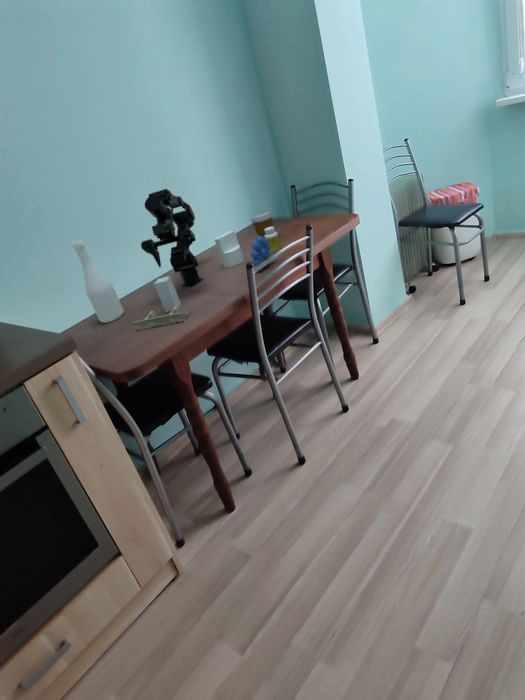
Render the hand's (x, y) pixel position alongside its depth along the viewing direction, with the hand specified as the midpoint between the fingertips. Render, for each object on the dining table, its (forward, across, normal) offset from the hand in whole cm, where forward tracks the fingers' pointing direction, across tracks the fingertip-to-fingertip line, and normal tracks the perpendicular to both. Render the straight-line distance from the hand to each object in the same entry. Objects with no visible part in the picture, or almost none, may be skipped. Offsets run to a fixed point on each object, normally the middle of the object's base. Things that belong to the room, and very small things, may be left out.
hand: (171, 263), depth 171 cm
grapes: (+4, +29, +18) cm, 34 cm away
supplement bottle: (-7, +34, +31) cm, 46 cm away
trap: (+21, -4, -4) cm, 22 cm away
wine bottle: (+12, -29, +8) cm, 32 cm away
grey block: (+15, -3, +3) cm, 16 cm away
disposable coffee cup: (-18, +30, +44) cm, 56 cm away
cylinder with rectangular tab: (-6, +16, +30) cm, 34 cm away
